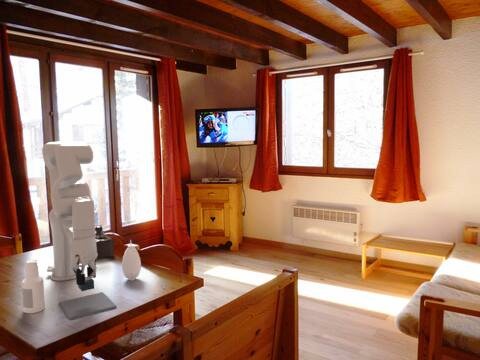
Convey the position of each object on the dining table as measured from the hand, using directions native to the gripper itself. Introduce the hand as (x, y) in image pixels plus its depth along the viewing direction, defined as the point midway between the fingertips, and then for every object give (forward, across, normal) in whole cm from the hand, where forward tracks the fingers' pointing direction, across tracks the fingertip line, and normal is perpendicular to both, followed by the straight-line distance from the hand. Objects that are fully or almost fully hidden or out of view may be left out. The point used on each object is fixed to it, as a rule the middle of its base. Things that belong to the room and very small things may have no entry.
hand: (86, 280), depth 143 cm
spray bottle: (+10, +6, -18) cm, 21 cm away
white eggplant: (+10, -28, +5) cm, 30 cm away
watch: (+3, 0, 0) cm, 3 cm away
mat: (+10, 0, 0) cm, 10 cm away
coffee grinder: (+10, -57, -24) cm, 63 cm away
